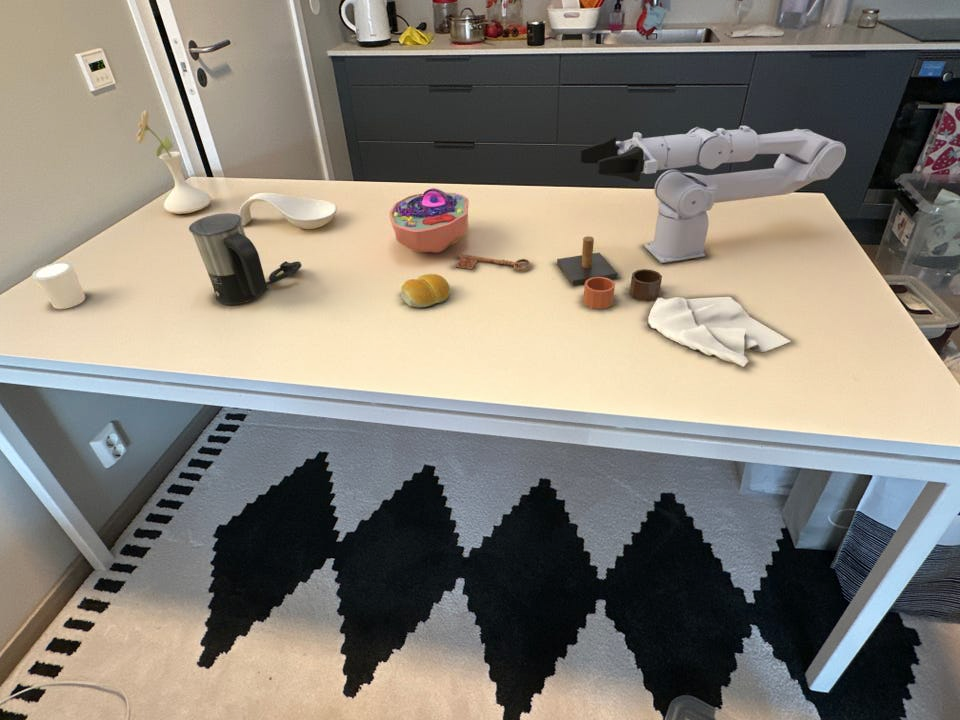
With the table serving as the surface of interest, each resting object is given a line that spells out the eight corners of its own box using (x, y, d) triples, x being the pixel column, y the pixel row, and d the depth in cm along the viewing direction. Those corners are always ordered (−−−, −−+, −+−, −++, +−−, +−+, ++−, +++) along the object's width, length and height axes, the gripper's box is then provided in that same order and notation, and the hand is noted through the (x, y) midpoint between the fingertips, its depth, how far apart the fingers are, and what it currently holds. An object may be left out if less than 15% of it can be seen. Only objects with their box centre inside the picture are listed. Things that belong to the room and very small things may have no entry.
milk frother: (204, 301, 112) (176, 230, 103) (256, 263, 123) (235, 196, 114) (266, 313, 108) (242, 239, 98) (313, 272, 119) (295, 203, 110)
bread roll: (457, 297, 109) (456, 279, 106) (415, 313, 105) (413, 294, 102) (435, 280, 114) (434, 262, 112) (395, 294, 110) (392, 276, 108)
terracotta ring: (606, 291, 108) (607, 274, 105) (617, 306, 104) (619, 288, 101) (579, 296, 107) (580, 279, 105) (590, 311, 103) (591, 293, 101)
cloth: (641, 296, 106) (643, 284, 104) (767, 298, 103) (771, 286, 102) (655, 365, 90) (657, 352, 88) (805, 369, 87) (810, 357, 86)
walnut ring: (651, 284, 109) (653, 267, 107) (664, 298, 105) (667, 280, 103) (625, 288, 108) (627, 271, 106) (637, 302, 104) (639, 285, 102)
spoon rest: (345, 214, 142) (339, 185, 137) (329, 235, 133) (323, 205, 128) (254, 213, 145) (245, 185, 140) (232, 234, 136) (223, 205, 131)
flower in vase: (181, 199, 155) (144, 100, 139) (221, 200, 153) (187, 99, 138) (153, 220, 144) (109, 115, 129) (195, 221, 143) (156, 114, 128)
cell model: (376, 260, 122) (367, 209, 115) (419, 221, 136) (413, 174, 129) (449, 272, 116) (444, 219, 109) (486, 230, 131) (484, 181, 124)
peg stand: (598, 257, 118) (601, 225, 114) (617, 278, 111) (620, 245, 107) (556, 264, 117) (558, 232, 113) (572, 286, 110) (574, 252, 106)
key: (453, 268, 118) (523, 278, 113) (452, 264, 118) (523, 274, 113) (464, 253, 122) (532, 262, 117) (463, 249, 122) (532, 258, 117)
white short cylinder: (48, 314, 111) (29, 282, 107) (50, 298, 116) (32, 267, 111) (88, 304, 113) (71, 272, 109) (89, 288, 118) (73, 258, 114)
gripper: (642, 121, 108) (574, 129, 106) (684, 139, 97) (609, 148, 94) (638, 160, 112) (572, 168, 110) (677, 181, 101) (605, 191, 98)
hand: (589, 161), depth 102 cm, fingers open, 7 cm apart
